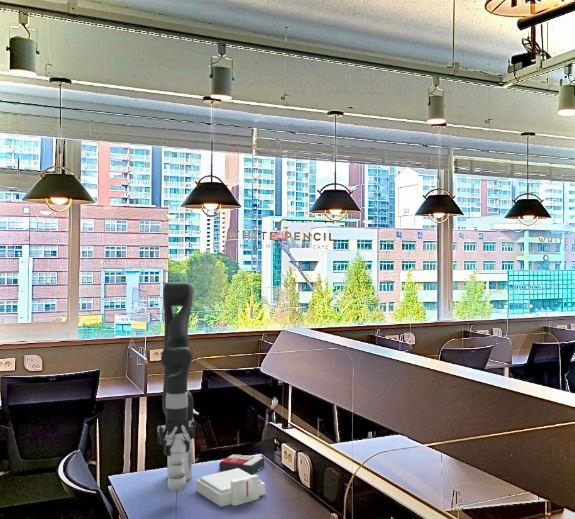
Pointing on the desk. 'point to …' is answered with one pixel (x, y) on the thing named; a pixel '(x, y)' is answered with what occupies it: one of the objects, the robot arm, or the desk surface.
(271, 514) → the desk surface
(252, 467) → the calculator
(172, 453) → the silver metal bottle
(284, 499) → the desk surface
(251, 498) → the plate
